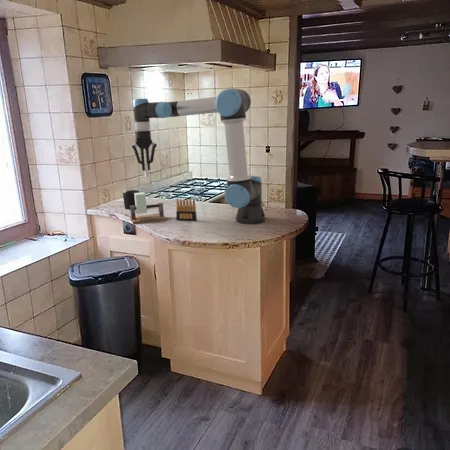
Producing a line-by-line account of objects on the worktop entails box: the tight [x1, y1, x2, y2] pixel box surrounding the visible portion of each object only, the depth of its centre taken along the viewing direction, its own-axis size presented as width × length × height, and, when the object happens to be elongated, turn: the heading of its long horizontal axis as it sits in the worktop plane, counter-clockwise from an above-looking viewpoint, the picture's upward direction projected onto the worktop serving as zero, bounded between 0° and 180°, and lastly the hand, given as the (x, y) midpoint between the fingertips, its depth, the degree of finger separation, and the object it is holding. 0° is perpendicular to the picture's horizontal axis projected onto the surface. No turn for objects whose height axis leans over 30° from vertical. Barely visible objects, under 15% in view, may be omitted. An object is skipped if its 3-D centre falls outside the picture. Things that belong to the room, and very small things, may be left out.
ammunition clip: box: [175, 197, 198, 222], centre depth 225 cm, size 11×2×12 cm, turn 77°
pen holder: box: [122, 189, 140, 211], centre depth 256 cm, size 9×9×10 cm
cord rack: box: [129, 202, 167, 225], centre depth 229 cm, size 12×17×8 cm
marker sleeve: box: [134, 191, 148, 214], centre depth 227 cm, size 5×5×10 cm
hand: (146, 176), depth 224 cm, fingers closed
